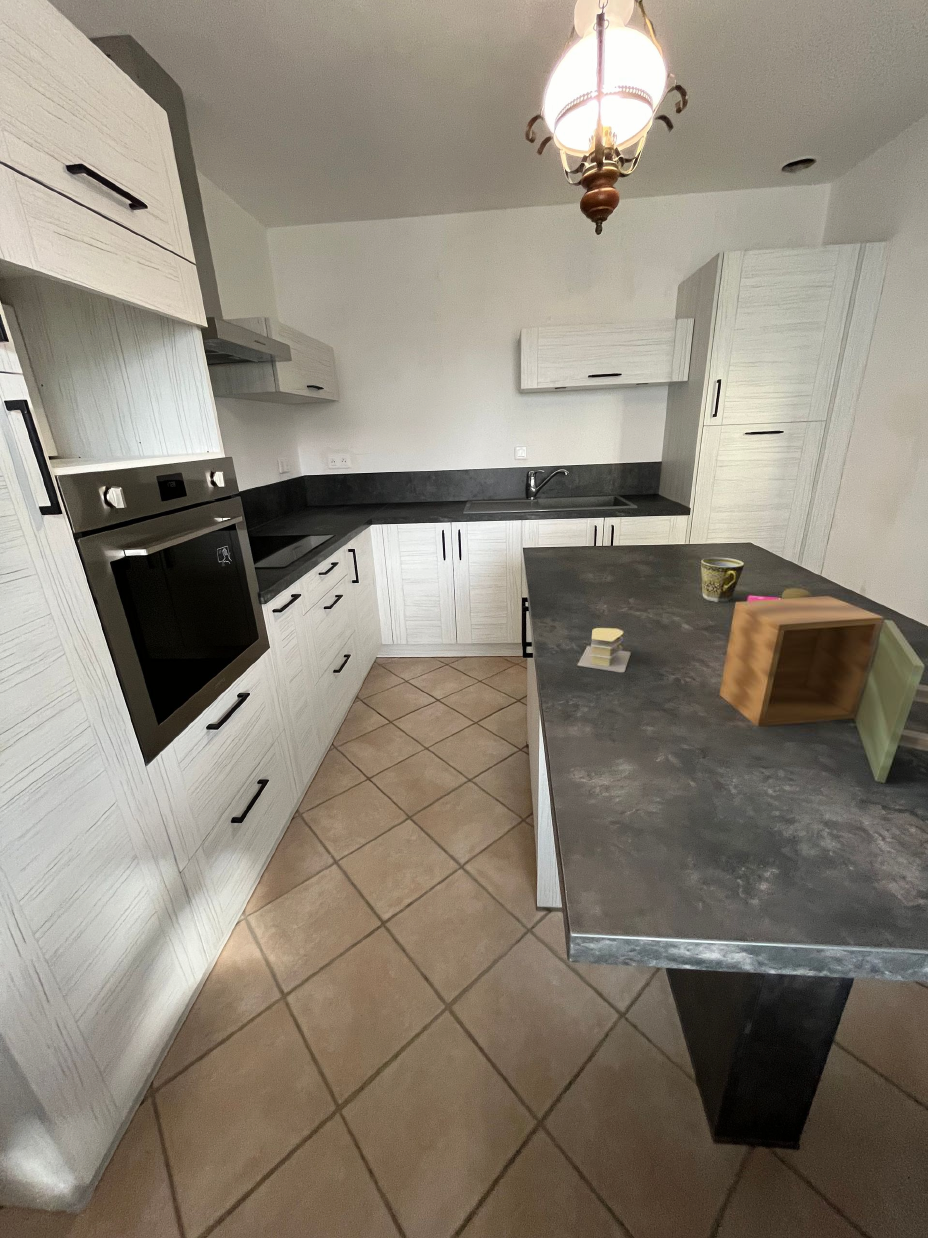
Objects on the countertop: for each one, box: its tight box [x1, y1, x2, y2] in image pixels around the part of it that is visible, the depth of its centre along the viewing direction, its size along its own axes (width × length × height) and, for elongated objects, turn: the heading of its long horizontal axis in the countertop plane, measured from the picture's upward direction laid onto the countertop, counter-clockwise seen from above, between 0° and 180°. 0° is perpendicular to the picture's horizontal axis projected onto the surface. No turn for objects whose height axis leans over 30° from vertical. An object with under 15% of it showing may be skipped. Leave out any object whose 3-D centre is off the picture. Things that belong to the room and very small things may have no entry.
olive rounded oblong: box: [781, 587, 813, 599], centre depth 103 cm, size 6×6×11 cm
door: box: [853, 619, 928, 784], centre depth 64 cm, size 7×16×17 cm, turn 151°
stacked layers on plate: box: [577, 627, 632, 673], centre depth 98 cm, size 10×9×6 cm
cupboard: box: [719, 595, 885, 727], centre depth 77 cm, size 10×16×17 cm, turn 96°
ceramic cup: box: [700, 557, 745, 603], centre depth 127 cm, size 13×10×10 cm
